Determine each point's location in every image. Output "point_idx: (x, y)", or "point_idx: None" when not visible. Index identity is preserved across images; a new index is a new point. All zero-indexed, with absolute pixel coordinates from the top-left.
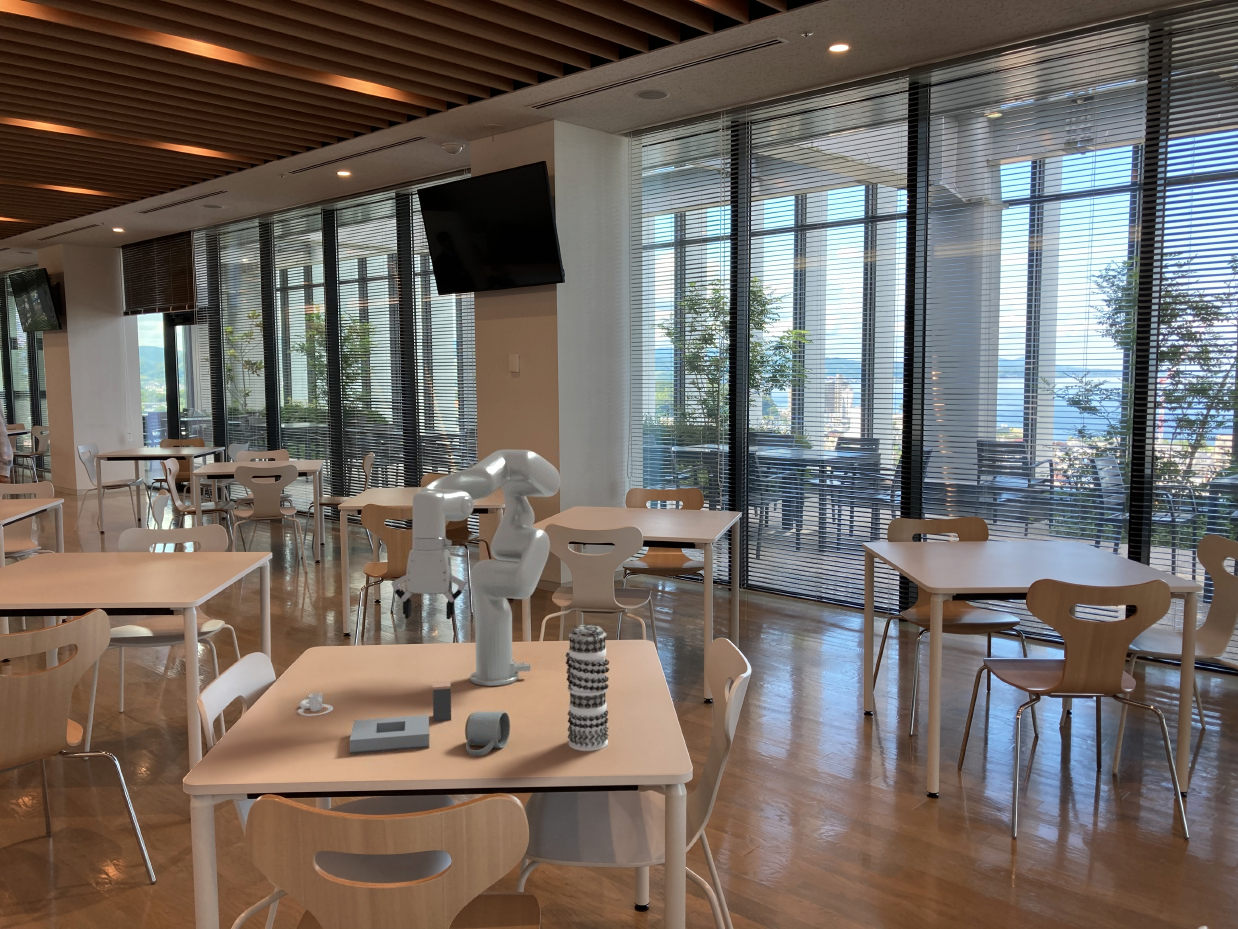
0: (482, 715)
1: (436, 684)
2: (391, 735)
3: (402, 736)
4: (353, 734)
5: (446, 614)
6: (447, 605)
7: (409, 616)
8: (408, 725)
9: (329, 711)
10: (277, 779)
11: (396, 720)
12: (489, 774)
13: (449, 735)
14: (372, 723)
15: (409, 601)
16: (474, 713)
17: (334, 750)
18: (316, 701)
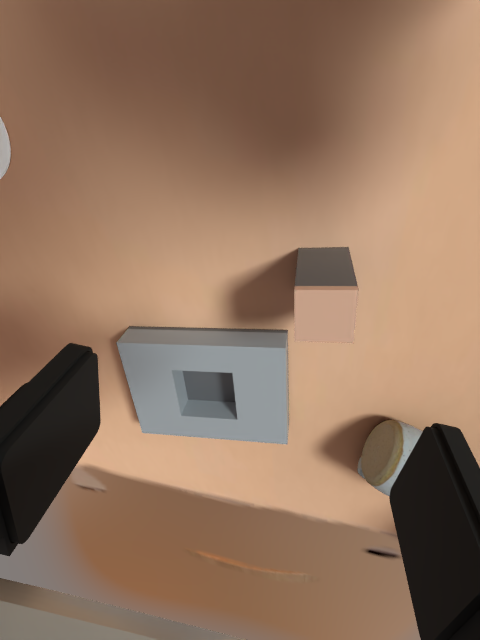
0: None
1: (307, 318)
2: (214, 433)
3: (236, 439)
4: (140, 412)
5: (396, 525)
6: (425, 622)
7: (96, 403)
8: (242, 397)
9: (9, 158)
10: (79, 460)
11: (211, 365)
12: (381, 523)
13: (332, 378)
14: (162, 369)
15: (13, 516)
16: (390, 487)
17: (120, 391)
18: None
